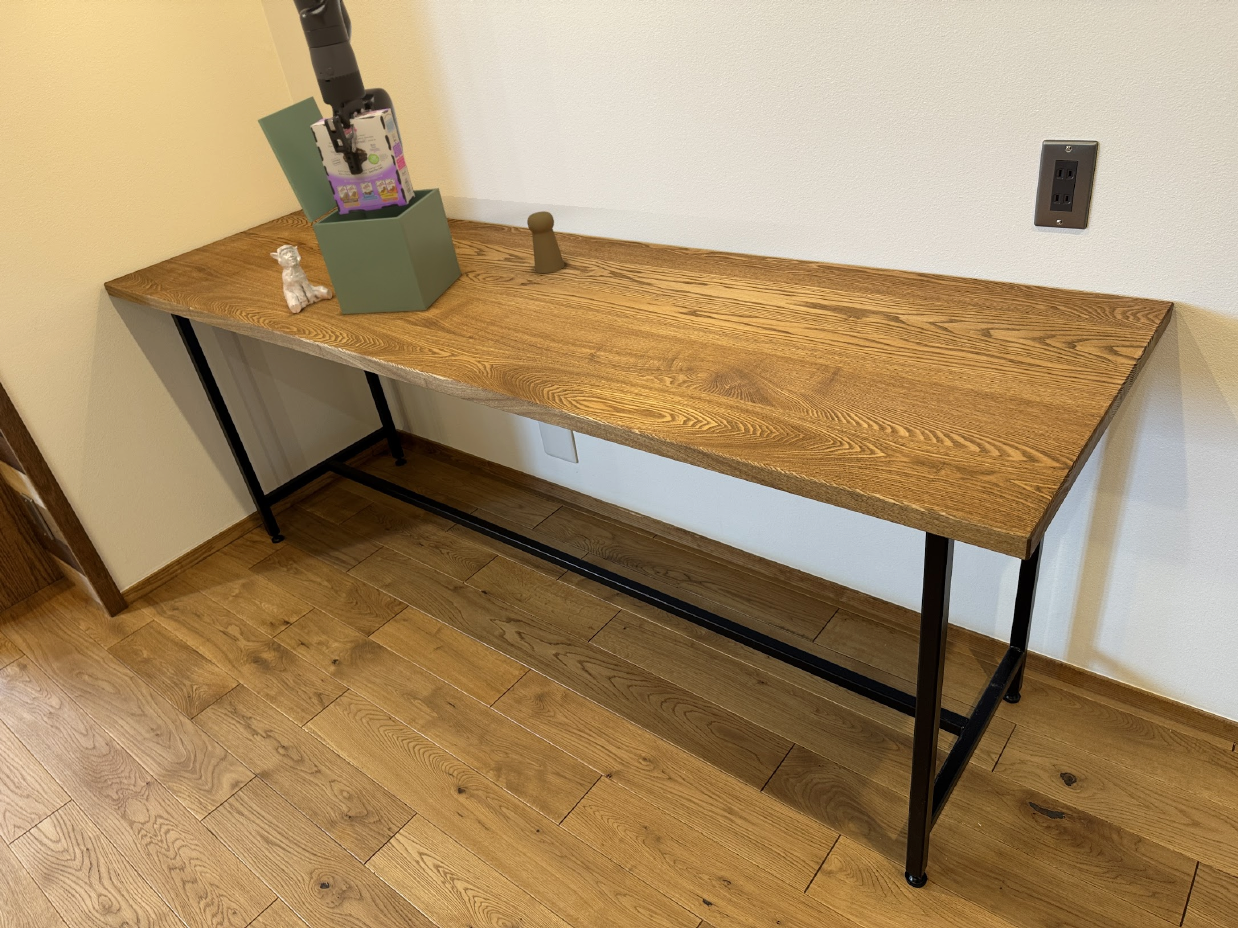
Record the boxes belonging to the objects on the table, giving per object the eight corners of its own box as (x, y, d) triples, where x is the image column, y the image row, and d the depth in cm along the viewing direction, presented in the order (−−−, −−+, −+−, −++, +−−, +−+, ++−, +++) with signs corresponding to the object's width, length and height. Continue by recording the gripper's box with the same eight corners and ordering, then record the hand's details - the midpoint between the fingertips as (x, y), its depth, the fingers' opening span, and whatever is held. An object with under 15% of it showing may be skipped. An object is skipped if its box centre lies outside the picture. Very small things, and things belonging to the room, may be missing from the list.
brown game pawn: (569, 261, 179) (558, 207, 173) (558, 273, 174) (547, 218, 169) (542, 262, 181) (531, 208, 175) (530, 273, 177) (518, 219, 171)
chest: (461, 274, 182) (438, 188, 173) (425, 310, 168) (398, 218, 159) (383, 279, 188) (357, 195, 178) (342, 314, 174) (311, 225, 164)
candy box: (416, 197, 170) (391, 106, 161) (407, 206, 165) (381, 114, 156) (349, 205, 172) (320, 117, 163) (338, 215, 167) (308, 124, 159)
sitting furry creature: (294, 315, 177) (272, 257, 171) (273, 308, 183) (251, 252, 176) (334, 297, 183) (315, 240, 176) (313, 291, 188) (293, 236, 182)
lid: (313, 96, 169) (291, 104, 171) (260, 118, 155) (238, 127, 157) (358, 192, 178) (337, 199, 180) (312, 222, 164) (290, 228, 166)
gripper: (338, 66, 163) (366, 159, 172) (297, 83, 151) (329, 181, 160) (375, 61, 161) (401, 155, 169) (335, 78, 149) (365, 178, 158)
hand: (366, 168), depth 165 cm, fingers closed on candy box, 6 cm apart
